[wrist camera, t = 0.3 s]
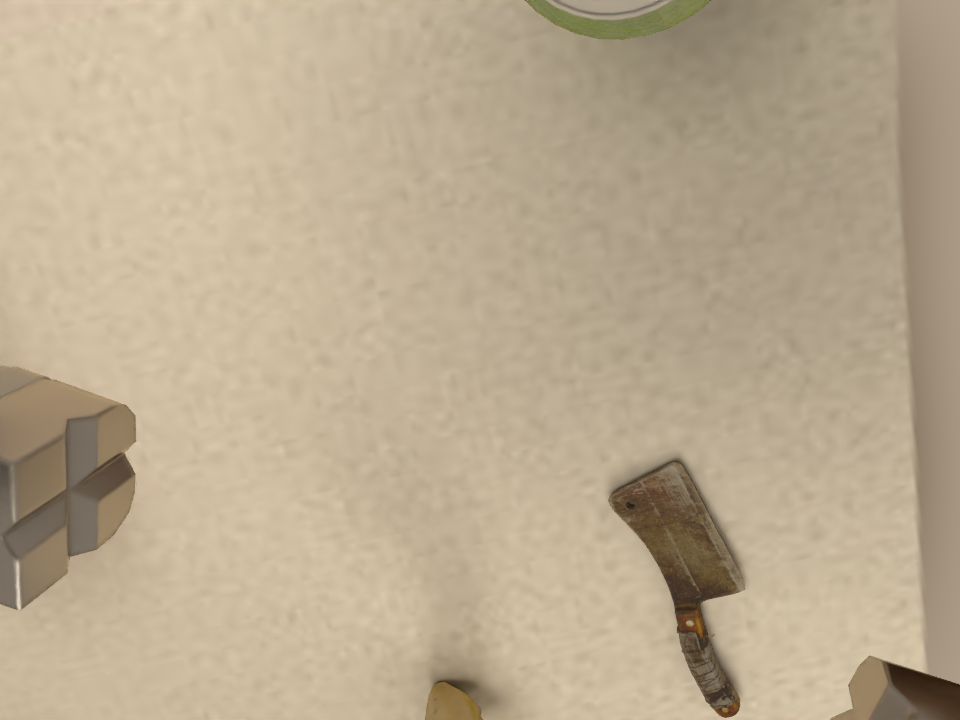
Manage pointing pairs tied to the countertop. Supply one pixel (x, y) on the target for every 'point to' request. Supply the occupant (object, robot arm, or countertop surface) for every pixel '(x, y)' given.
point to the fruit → (450, 704)
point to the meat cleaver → (685, 566)
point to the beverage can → (616, 15)
